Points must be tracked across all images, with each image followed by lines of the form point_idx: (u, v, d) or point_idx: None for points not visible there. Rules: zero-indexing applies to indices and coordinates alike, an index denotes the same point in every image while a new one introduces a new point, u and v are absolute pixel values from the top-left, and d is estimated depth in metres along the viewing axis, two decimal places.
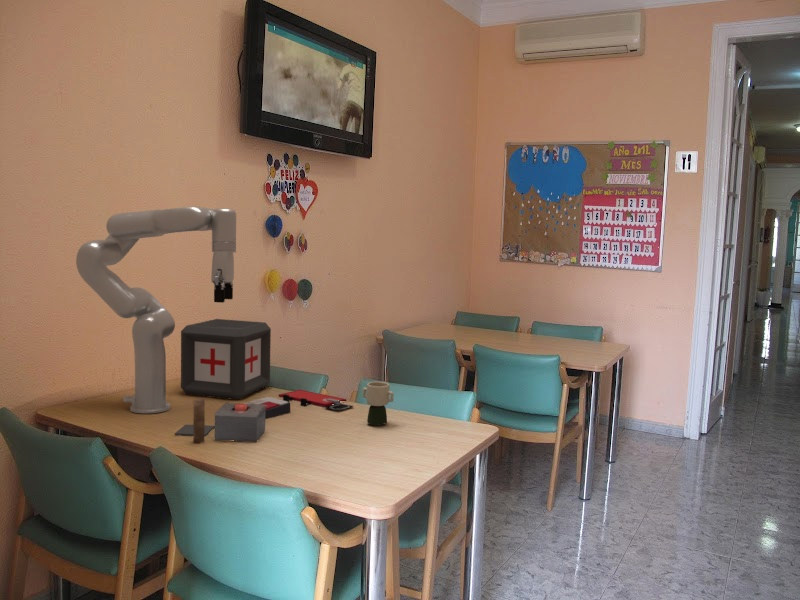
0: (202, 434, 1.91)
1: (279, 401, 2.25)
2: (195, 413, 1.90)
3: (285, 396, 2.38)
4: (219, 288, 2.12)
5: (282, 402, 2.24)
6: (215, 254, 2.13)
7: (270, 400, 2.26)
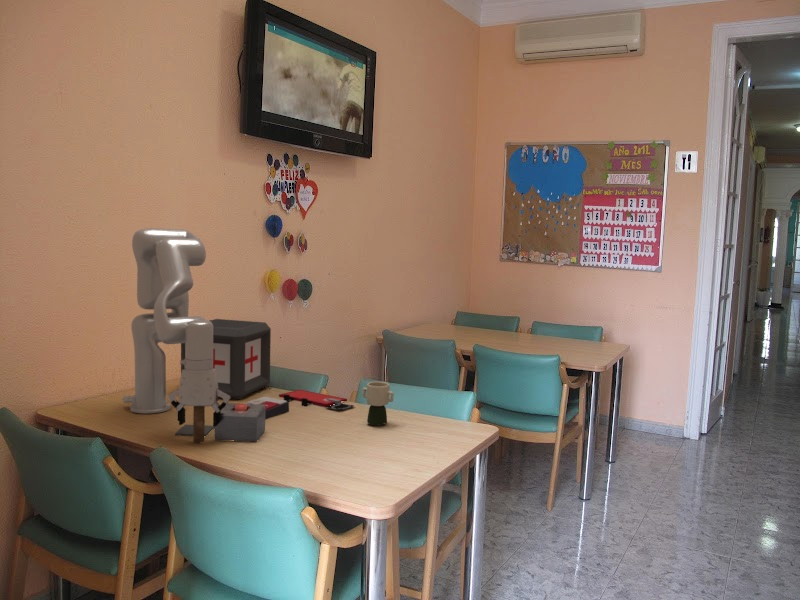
0: (202, 434, 1.91)
1: (277, 400, 2.26)
2: (195, 413, 1.90)
3: (286, 396, 2.38)
4: None
5: (281, 401, 2.25)
6: (213, 373, 1.88)
7: (268, 400, 2.26)
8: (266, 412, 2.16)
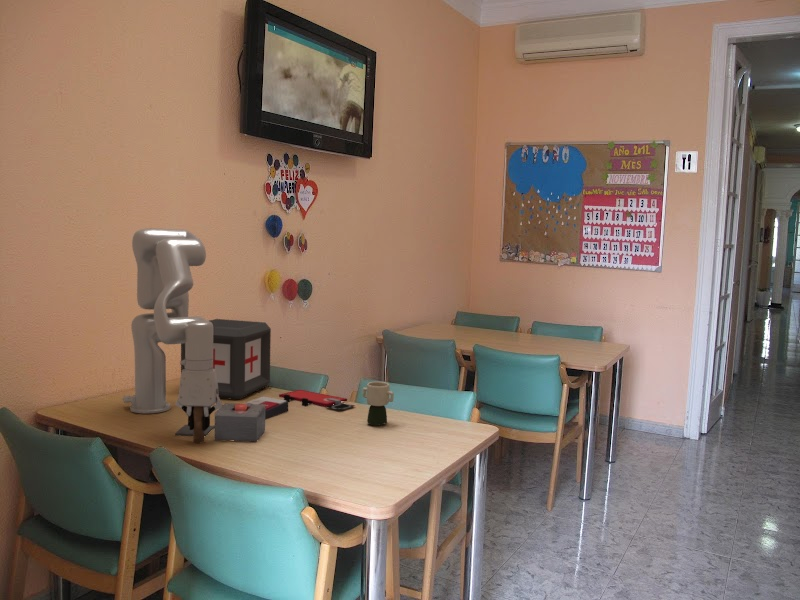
0: (202, 434, 1.91)
1: (277, 400, 2.26)
2: (195, 413, 1.90)
3: (286, 396, 2.38)
4: None
5: (280, 401, 2.25)
6: (213, 373, 1.88)
7: (267, 400, 2.27)
8: (267, 412, 2.17)
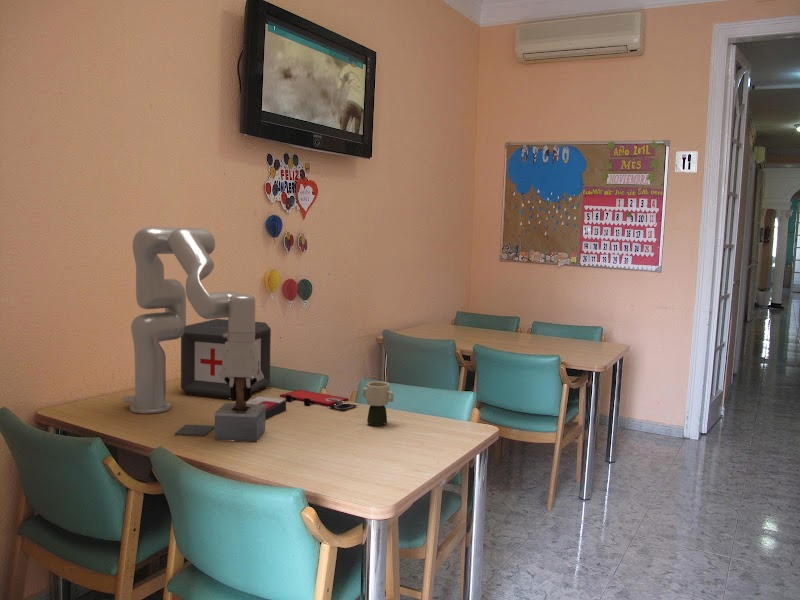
0: (244, 405, 1.97)
1: (275, 400, 2.27)
2: (237, 384, 1.96)
3: (288, 396, 2.38)
4: None
5: (279, 400, 2.26)
6: (255, 345, 1.94)
7: (264, 399, 2.27)
8: (268, 411, 2.17)
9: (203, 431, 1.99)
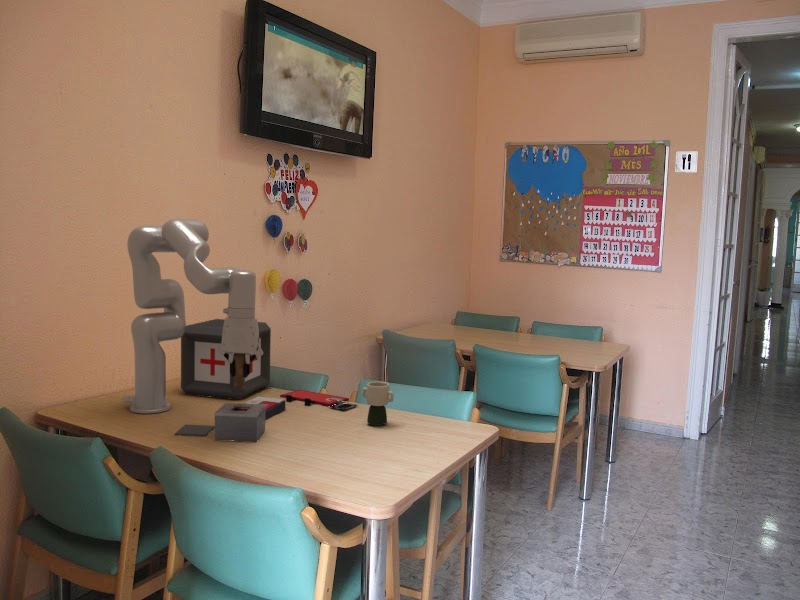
0: (243, 381, 1.97)
1: (274, 400, 2.27)
2: (237, 360, 1.95)
3: (288, 396, 2.38)
4: None
5: (278, 400, 2.26)
6: (255, 322, 1.94)
7: (264, 399, 2.27)
8: (269, 411, 2.17)
9: (203, 431, 1.99)
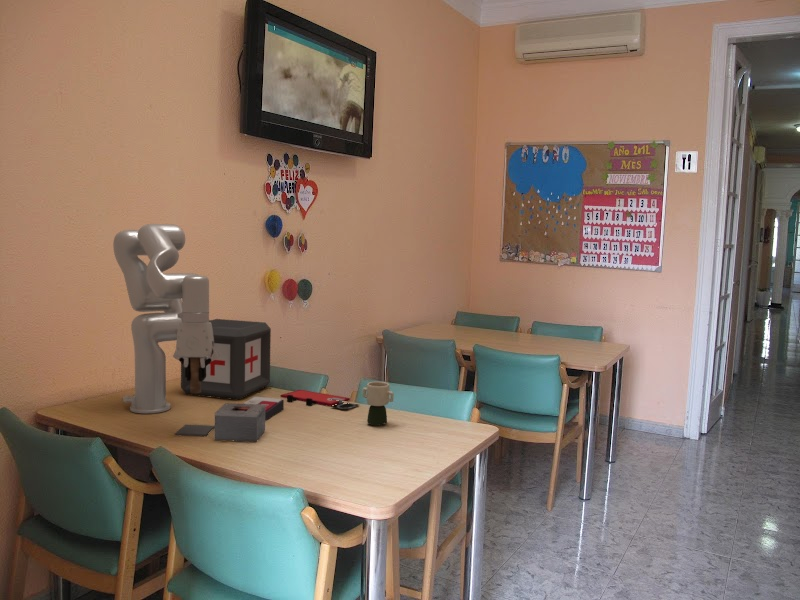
0: (199, 385, 1.99)
1: (272, 399, 2.27)
2: (192, 364, 1.97)
3: (289, 396, 2.38)
4: None
5: (277, 400, 2.27)
6: (209, 325, 1.96)
7: (262, 399, 2.27)
8: (270, 411, 2.18)
9: (203, 431, 1.99)
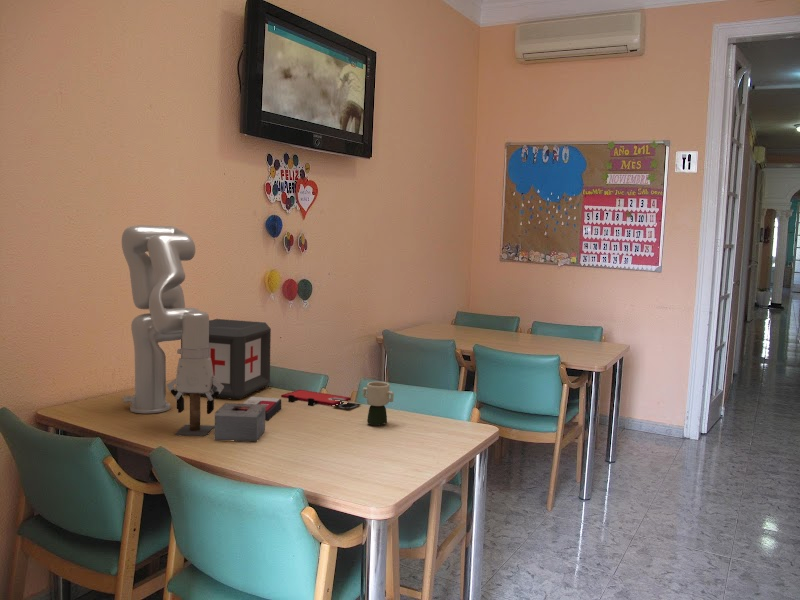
0: (198, 422, 2.00)
1: (270, 399, 2.27)
2: (191, 402, 1.99)
3: (290, 396, 2.38)
4: None
5: (275, 399, 2.27)
6: (208, 361, 1.97)
7: (260, 399, 2.27)
8: (271, 411, 2.18)
9: (203, 431, 1.99)
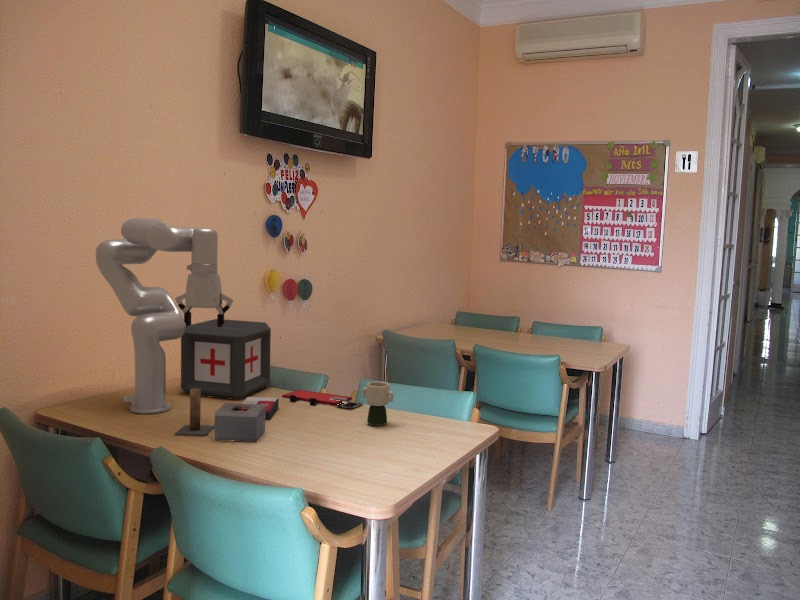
0: (198, 422, 2.00)
1: (268, 399, 2.28)
2: (191, 402, 1.99)
3: (292, 396, 2.38)
4: None
5: (273, 399, 2.27)
6: (217, 277, 2.03)
7: (258, 399, 2.27)
8: (272, 410, 2.19)
9: (203, 431, 1.99)
